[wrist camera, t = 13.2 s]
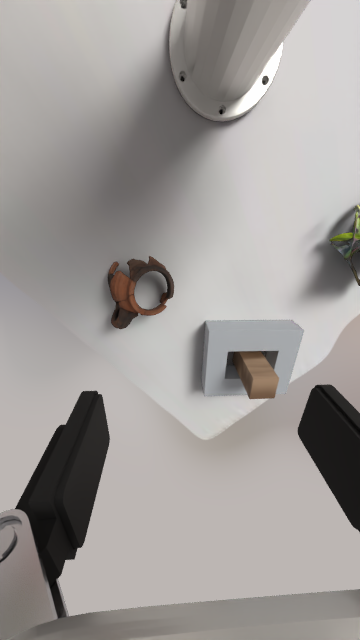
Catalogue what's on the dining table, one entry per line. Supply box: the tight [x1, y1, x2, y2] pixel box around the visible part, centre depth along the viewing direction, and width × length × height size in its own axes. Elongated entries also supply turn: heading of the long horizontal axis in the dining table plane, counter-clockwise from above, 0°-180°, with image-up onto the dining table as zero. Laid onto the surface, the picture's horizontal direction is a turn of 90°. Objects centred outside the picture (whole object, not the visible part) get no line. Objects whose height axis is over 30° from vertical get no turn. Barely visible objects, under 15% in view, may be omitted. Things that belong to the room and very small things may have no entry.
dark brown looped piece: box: [108, 256, 174, 329], centre depth 34 cm, size 12×10×8 cm
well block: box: [201, 320, 304, 396], centre depth 41 cm, size 14×16×4 cm
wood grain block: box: [233, 351, 279, 399], centre depth 38 cm, size 4×4×10 cm
